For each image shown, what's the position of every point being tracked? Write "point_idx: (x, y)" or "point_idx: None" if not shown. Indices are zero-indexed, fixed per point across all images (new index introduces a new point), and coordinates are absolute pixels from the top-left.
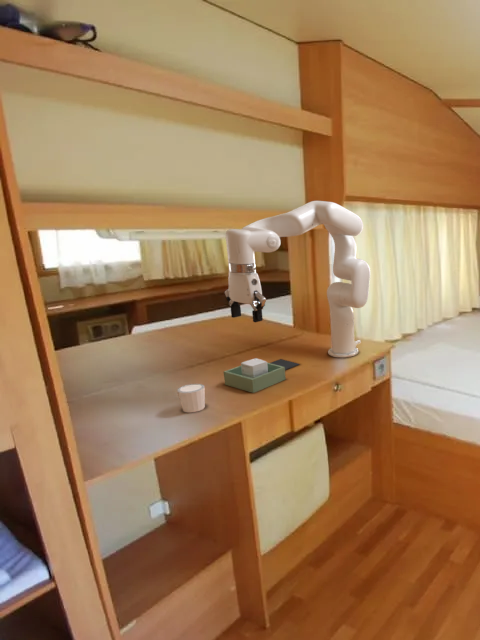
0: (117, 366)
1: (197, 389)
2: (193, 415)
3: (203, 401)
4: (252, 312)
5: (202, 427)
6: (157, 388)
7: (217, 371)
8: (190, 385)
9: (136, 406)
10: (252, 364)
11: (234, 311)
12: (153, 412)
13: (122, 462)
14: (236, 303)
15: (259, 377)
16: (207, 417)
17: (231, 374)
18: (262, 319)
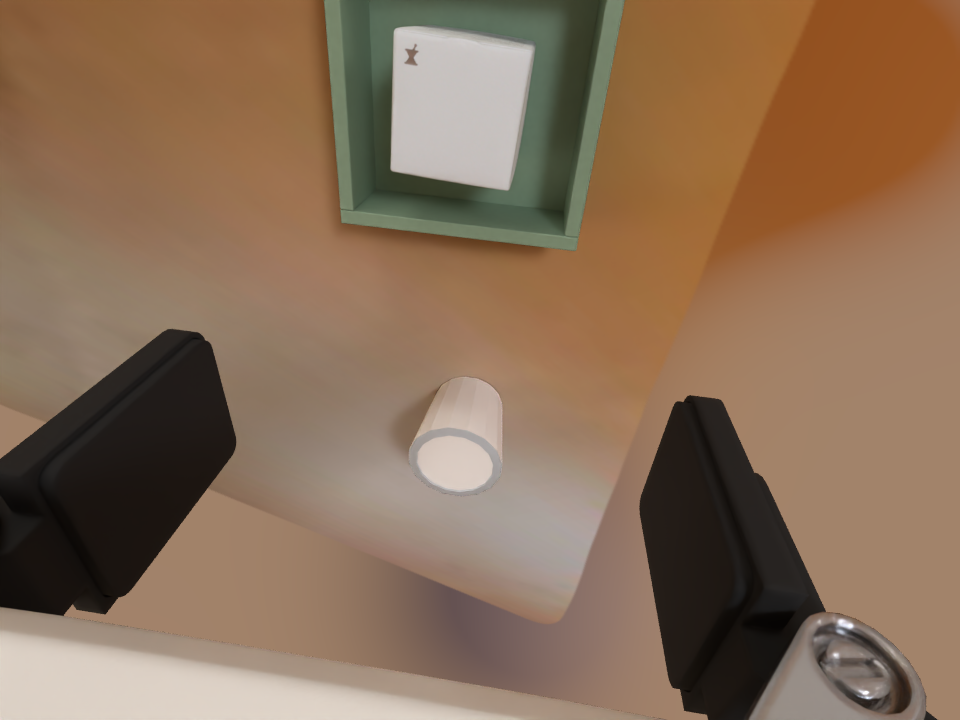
0: None
1: (487, 465)
2: (512, 436)
3: (499, 414)
4: (677, 668)
5: (605, 478)
6: (194, 331)
7: (159, 65)
8: (427, 447)
9: (302, 441)
10: (485, 164)
11: (176, 495)
12: (385, 453)
13: (563, 601)
14: (12, 574)
15: (585, 198)
16: (567, 434)
17: (408, 229)
18: (723, 408)
